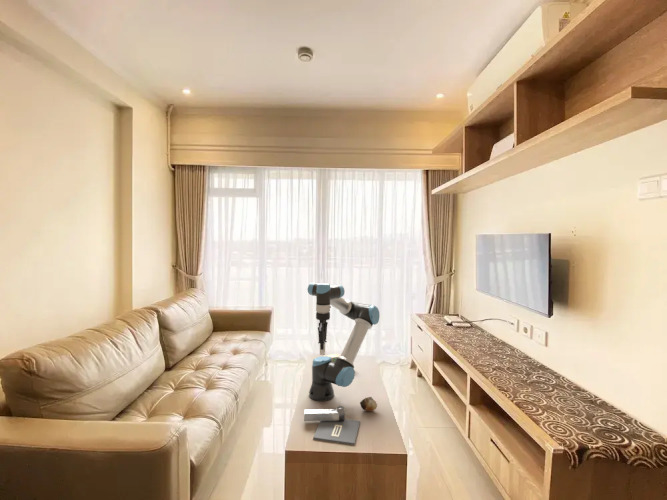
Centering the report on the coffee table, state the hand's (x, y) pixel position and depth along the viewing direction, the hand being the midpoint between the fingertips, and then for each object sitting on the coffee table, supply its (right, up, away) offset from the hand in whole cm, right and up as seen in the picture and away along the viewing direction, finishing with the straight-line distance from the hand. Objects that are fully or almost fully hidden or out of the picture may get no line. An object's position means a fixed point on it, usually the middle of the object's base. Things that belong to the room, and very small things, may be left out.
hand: (322, 354), depth 187 cm
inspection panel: (+8, -33, -16) cm, 38 cm away
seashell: (+26, -33, +4) cm, 42 cm away
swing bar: (+1, -31, -9) cm, 32 cm away
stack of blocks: (+9, -31, +58) cm, 67 cm away
